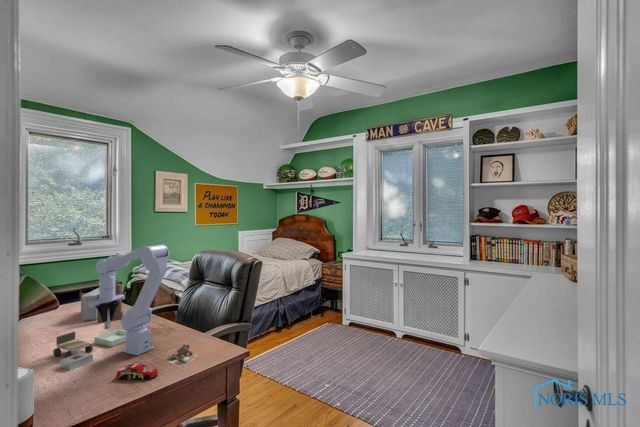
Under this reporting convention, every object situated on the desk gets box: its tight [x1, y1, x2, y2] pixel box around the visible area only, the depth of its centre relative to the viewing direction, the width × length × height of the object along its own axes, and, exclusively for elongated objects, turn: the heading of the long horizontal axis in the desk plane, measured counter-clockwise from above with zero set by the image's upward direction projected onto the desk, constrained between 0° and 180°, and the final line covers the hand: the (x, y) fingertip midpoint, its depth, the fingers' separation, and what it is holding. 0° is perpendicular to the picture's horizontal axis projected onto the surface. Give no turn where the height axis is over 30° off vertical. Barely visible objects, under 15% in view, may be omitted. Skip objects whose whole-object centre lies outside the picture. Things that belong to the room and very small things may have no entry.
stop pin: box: [104, 308, 111, 330], centre depth 144 cm, size 2×2×8 cm
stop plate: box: [59, 351, 94, 371], centre depth 127 cm, size 6×8×2 cm
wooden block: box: [96, 283, 124, 324], centre depth 176 cm, size 4×11×18 cm, turn 134°
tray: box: [94, 328, 126, 348], centre depth 150 cm, size 11×11×2 cm
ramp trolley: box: [52, 331, 94, 358], centre depth 136 cm, size 10×9×7 cm
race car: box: [115, 363, 159, 381], centre depth 118 cm, size 13×5×4 cm, turn 89°
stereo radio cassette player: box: [80, 281, 99, 322], centre depth 185 cm, size 21×8×20 cm, turn 10°
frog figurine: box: [166, 344, 198, 365], centre depth 133 cm, size 12×12×4 cm
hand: (107, 320), depth 144 cm, fingers closed on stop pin, 2 cm apart
